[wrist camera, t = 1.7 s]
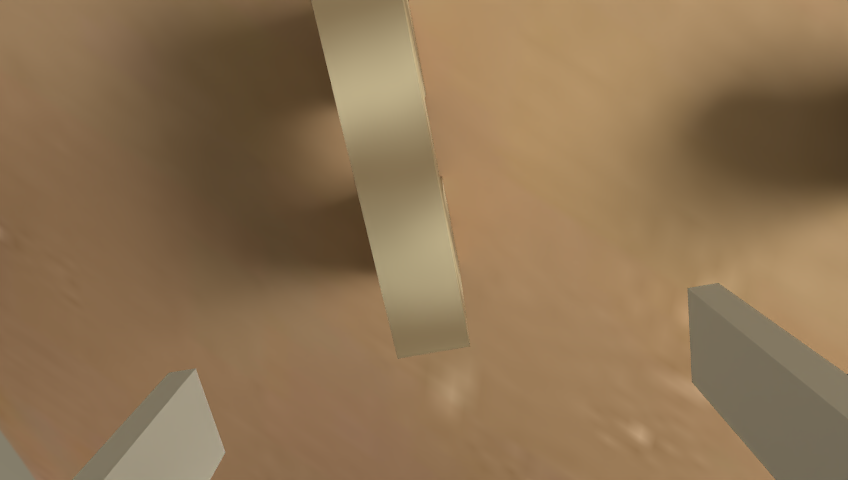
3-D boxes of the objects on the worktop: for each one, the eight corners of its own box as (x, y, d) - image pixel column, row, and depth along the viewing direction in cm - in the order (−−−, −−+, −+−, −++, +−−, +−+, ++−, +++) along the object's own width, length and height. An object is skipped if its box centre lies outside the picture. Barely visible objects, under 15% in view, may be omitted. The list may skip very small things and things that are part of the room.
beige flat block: (458, 263, 31) (469, 346, 21) (408, 272, 31) (397, 358, 21) (405, -12, 27) (390, -63, 17) (348, 1, 27) (300, -42, 17)
